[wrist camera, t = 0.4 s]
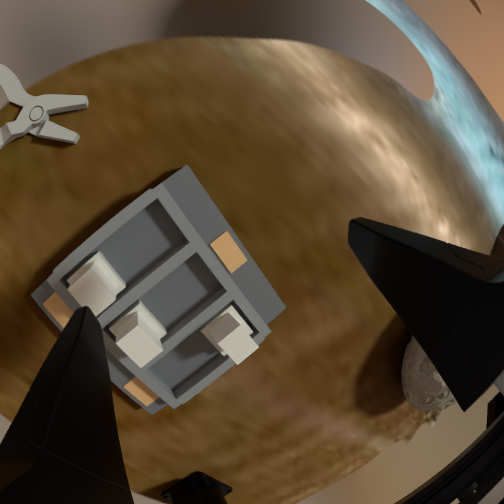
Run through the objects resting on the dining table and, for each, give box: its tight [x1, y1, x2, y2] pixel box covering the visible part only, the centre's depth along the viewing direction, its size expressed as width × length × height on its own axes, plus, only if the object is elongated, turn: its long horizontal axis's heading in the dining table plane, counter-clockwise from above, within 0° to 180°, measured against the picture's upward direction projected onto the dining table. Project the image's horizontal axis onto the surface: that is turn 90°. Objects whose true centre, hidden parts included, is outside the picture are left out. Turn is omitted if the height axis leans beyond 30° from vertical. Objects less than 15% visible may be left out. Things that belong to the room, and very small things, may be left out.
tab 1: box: [67, 251, 126, 316], centre depth 18 cm, size 3×3×4 cm
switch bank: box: [31, 165, 286, 415], centre depth 21 cm, size 14×15×3 cm
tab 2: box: [109, 300, 167, 368], centre depth 19 cm, size 3×3×4 cm
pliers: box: [0, 64, 88, 149], centre depth 15 cm, size 10×2×15 cm
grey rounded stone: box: [401, 335, 457, 414], centre depth 33 cm, size 18×18×10 cm
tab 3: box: [199, 303, 259, 365], centre depth 22 cm, size 3×3×4 cm
